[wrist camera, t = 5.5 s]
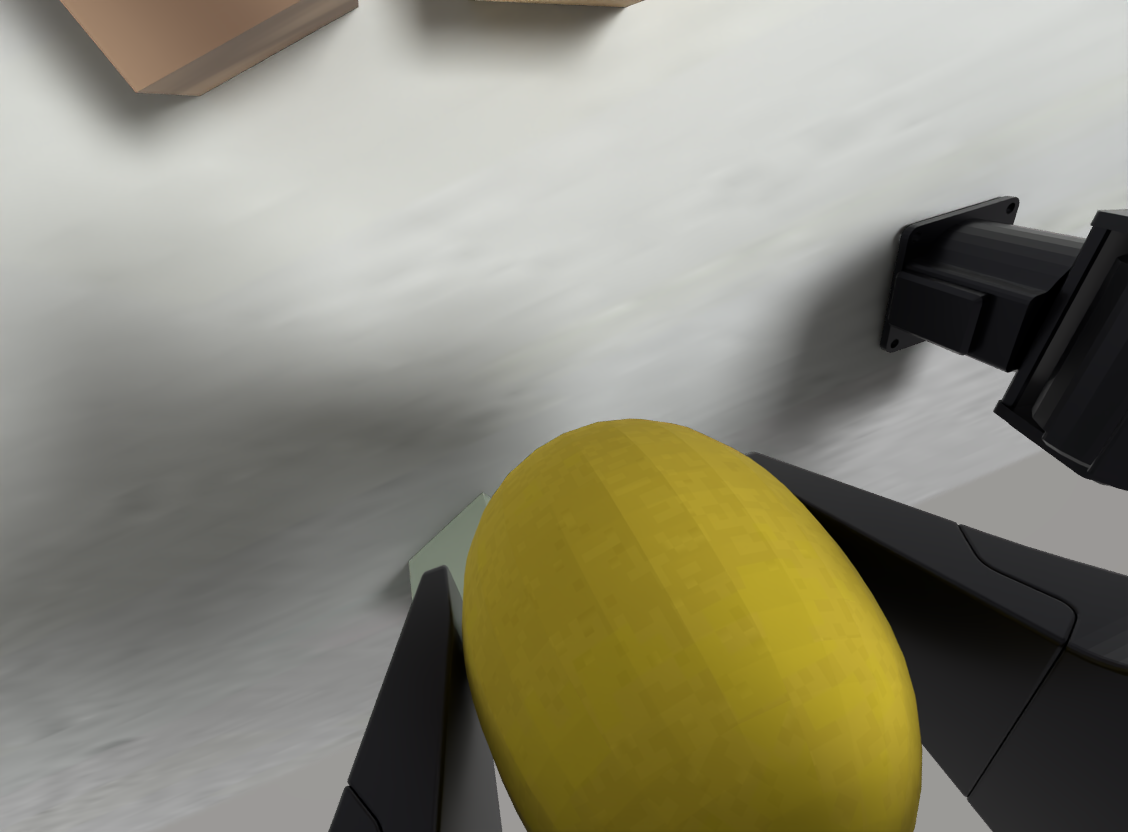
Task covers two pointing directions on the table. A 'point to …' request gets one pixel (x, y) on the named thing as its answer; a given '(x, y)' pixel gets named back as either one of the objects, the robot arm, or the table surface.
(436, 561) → the sage block
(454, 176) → the table surface
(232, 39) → the walnut block
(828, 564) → the lemon
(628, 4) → the oak block
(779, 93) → the table surface
